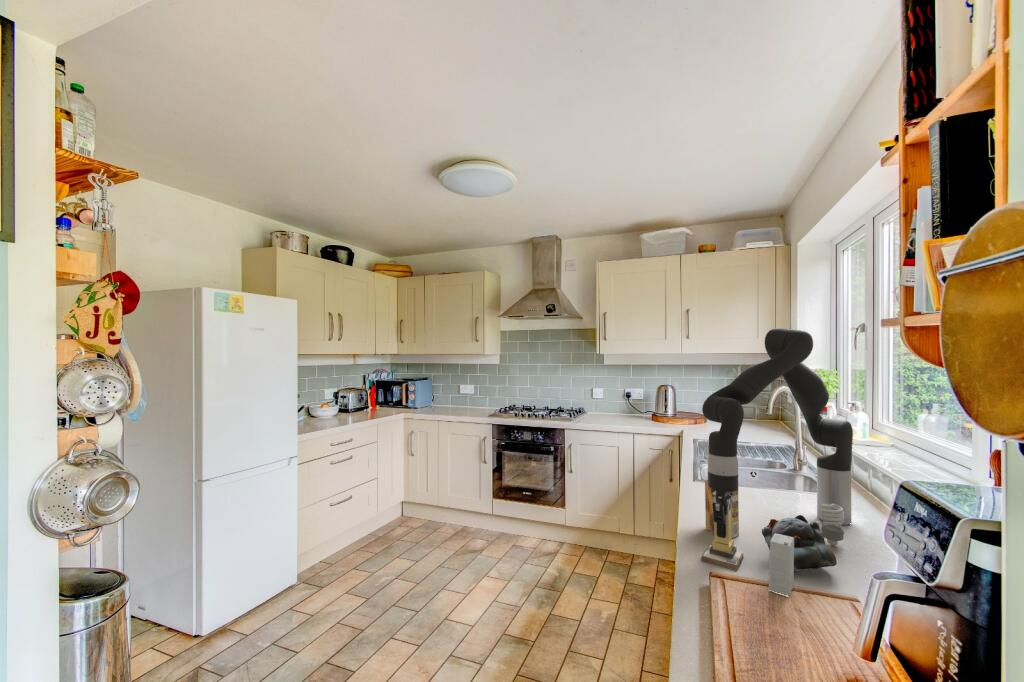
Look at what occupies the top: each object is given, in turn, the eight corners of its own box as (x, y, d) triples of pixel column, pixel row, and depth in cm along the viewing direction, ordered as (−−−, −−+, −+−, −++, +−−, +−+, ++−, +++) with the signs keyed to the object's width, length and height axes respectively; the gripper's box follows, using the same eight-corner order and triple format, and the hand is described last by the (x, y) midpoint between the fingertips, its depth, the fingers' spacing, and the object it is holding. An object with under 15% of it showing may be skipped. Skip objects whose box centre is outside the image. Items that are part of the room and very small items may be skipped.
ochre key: (716, 543, 125) (716, 536, 125) (733, 547, 122) (733, 540, 122) (712, 549, 121) (712, 542, 121) (730, 554, 118) (730, 546, 118)
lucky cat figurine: (770, 573, 113) (753, 514, 120) (775, 574, 122) (760, 519, 129) (840, 570, 106) (818, 508, 113) (840, 571, 115) (820, 514, 122)
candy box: (739, 535, 135) (739, 485, 136) (731, 539, 133) (731, 487, 133) (712, 526, 143) (712, 477, 143) (704, 529, 140) (704, 480, 141)
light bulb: (840, 543, 130) (840, 501, 131) (847, 551, 125) (847, 508, 125) (817, 540, 132) (817, 499, 132) (824, 548, 127) (823, 506, 127)
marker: (731, 539, 122) (731, 503, 122) (728, 544, 119) (728, 506, 119) (717, 536, 124) (717, 500, 124) (714, 541, 121) (714, 503, 121)
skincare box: (773, 581, 109) (773, 531, 109) (794, 588, 106) (794, 536, 106) (768, 592, 104) (767, 540, 104) (790, 599, 101) (790, 545, 102)
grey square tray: (708, 549, 126) (708, 540, 126) (743, 558, 121) (743, 548, 121) (701, 560, 120) (701, 550, 120) (737, 570, 114) (737, 560, 114)
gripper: (732, 479, 114) (733, 547, 114) (742, 467, 125) (743, 529, 125) (701, 474, 118) (701, 539, 118) (714, 463, 130) (714, 523, 129)
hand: (723, 534), depth 122 cm, fingers closed on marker, 3 cm apart
